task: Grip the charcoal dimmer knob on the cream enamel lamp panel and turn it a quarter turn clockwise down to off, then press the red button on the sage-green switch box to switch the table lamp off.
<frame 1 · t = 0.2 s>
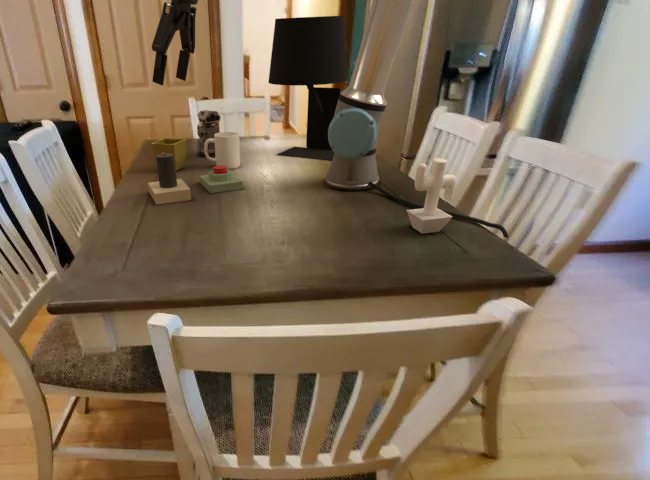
hand: (169, 81, 122), 28 cm above the table, tool tilted 20°, fingers open, 13 cm apart
figurine: (425, 230, 106), on the table
flower pot: (172, 170, 159), on the table
dimmer panel: (169, 196, 134), on the table
table lamp: (305, 157, 167), on the table
figurine 2: (211, 156, 174), on the table
cup: (222, 167, 160), on the table
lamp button: (220, 170, 138), point 5 cm above the table, slide at 0.2 cm
switch box: (221, 186, 141), on the table
dimmer knob: (166, 170, 129), point 7 cm above the table, hinge at 0.0°
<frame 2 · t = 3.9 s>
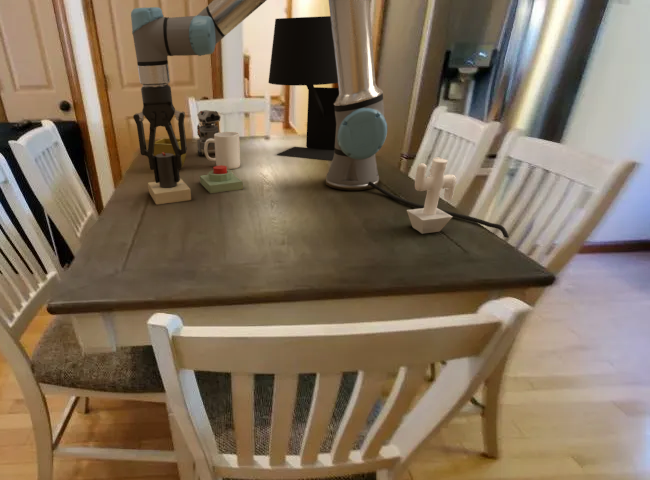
hand: (167, 181, 131), 4 cm above the table, tool pointing down, fingers closed on dimmer knob, 5 cm apart
dimmer knob: (166, 170, 129), point 7 cm above the table, hinge at 0.0°, touching gripper
everything else where it was.
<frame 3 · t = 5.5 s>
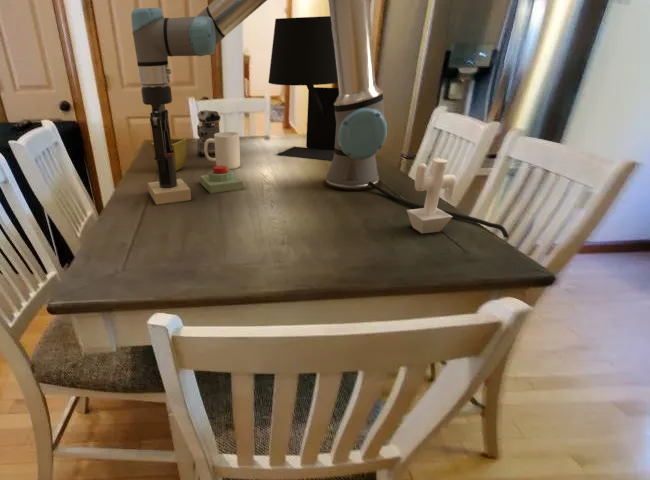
hand: (167, 181, 131), 4 cm above the table, tool pointing down, fingers open, 5 cm apart
dimmer knob: (166, 170, 129), point 7 cm above the table, hinge at -90.4°
everything else where it was.
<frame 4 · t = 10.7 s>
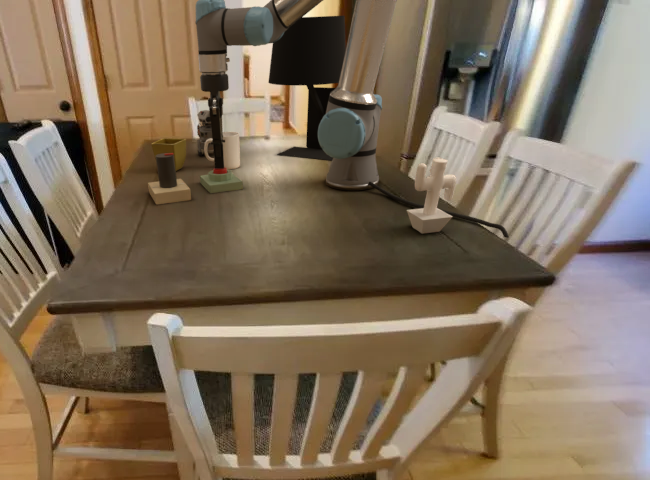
hand: (219, 167, 137), 5 cm above the table, tool pointing down, fingers closed
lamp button: (220, 171, 138), point 4 cm above the table, slide at -0.3 cm, touching gripper
everything else where it was.
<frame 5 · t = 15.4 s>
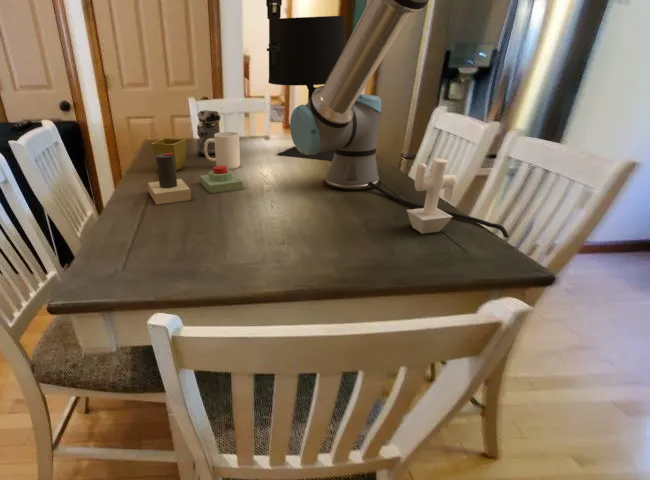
hand: (273, 78, 130), 26 cm above the table, tool pointing down, fingers closed
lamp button: (220, 170, 138), point 5 cm above the table, slide at 0.2 cm
everything else where it was.
at the end: dimmer knob at -90° (first picture: +0°); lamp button pushed in 1.0 cm at the most during the clip, back to 0.2 cm at the end; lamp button slide at 0.2 cm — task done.
